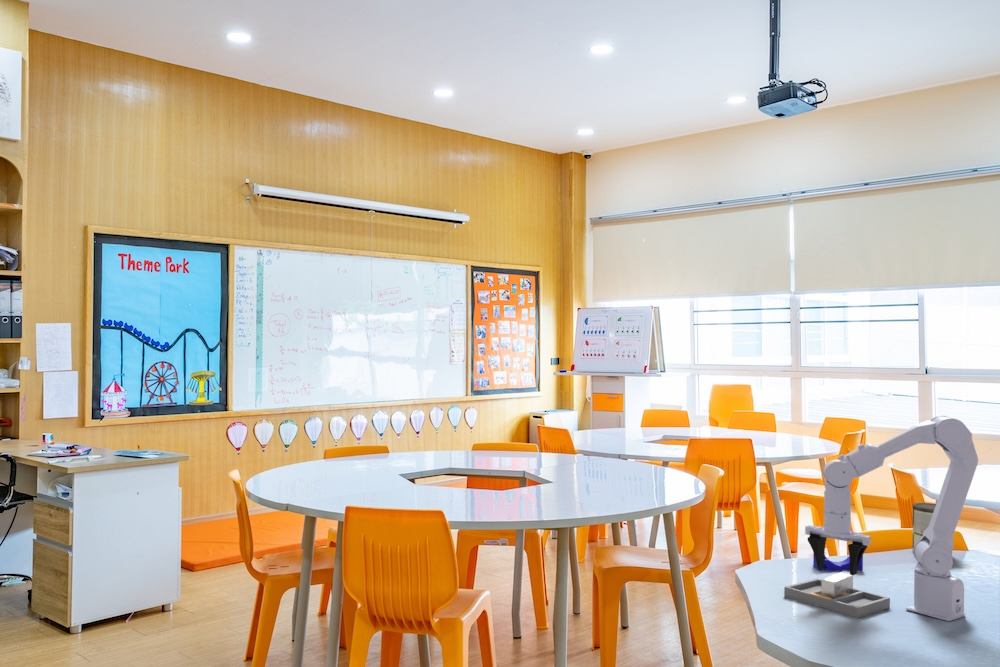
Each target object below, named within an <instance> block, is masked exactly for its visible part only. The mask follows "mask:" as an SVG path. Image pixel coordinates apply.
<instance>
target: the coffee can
mask: <svg viewBox="0 0 1000 667" xmlns="http://www.w3.org/2000/svg"><path fill="white" fill-rule="evenodd" d="M935 506H936V503H932V502H931V503H930V502H917V503H913V504H912V550H911V552H912V553H913V548H914V545H915V544H916V543H917V542H918V541H919V540H920V539H921V538H922V536H923V533H924V531H925V530H926V529H927V528H928V526H929V524H930V521H931V518H932V515H933V512H934V509H935Z"/></svg>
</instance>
